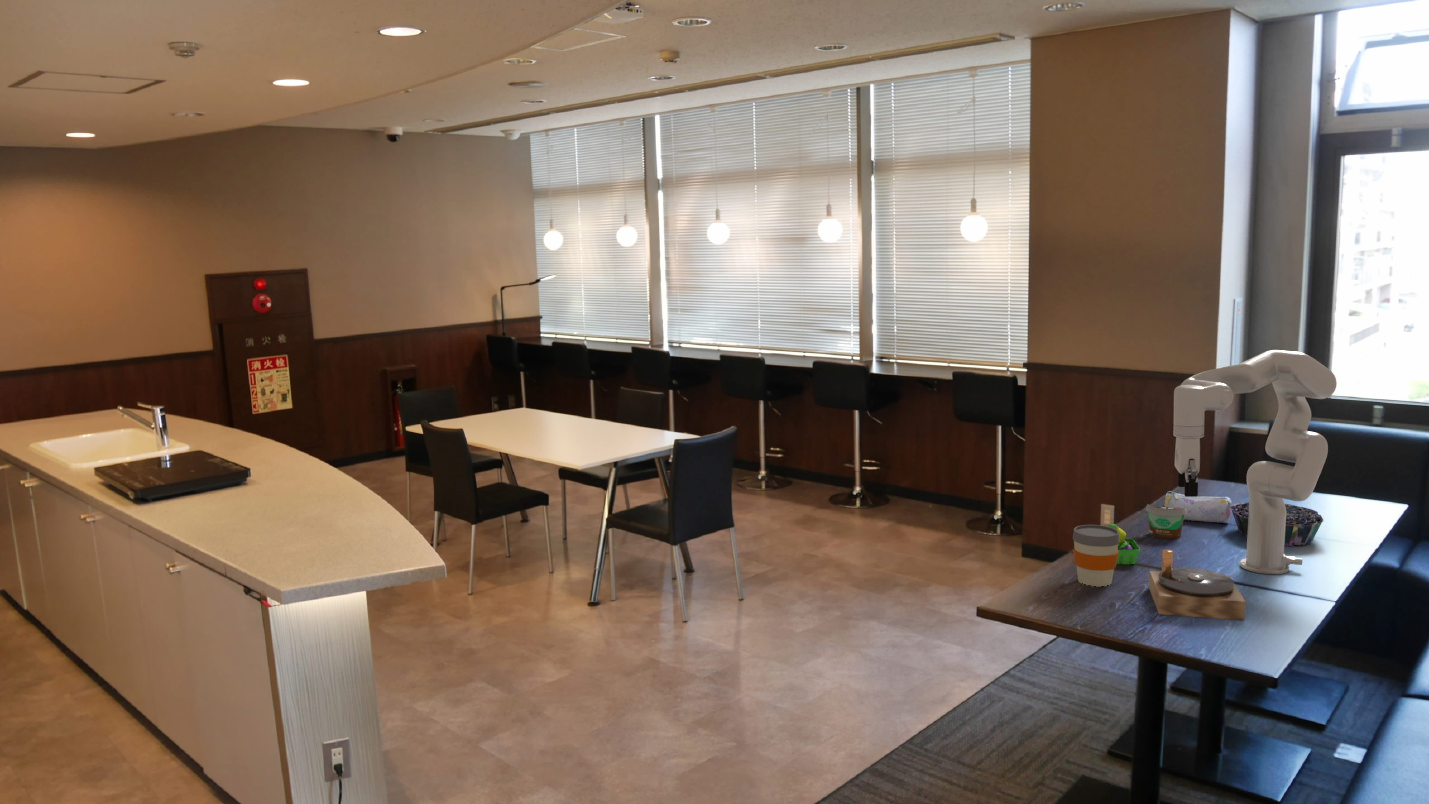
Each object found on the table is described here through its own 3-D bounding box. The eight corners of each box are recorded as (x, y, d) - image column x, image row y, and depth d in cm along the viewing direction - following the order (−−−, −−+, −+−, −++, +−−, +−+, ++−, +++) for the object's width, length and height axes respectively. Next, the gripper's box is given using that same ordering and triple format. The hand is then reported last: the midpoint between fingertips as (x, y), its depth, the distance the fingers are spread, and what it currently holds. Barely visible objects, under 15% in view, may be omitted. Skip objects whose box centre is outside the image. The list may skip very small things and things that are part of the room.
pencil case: (1161, 519, 342) (1162, 492, 341) (1166, 513, 349) (1167, 487, 348) (1228, 527, 330) (1230, 500, 329) (1232, 521, 337) (1233, 494, 336)
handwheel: (1156, 570, 274) (1157, 540, 273) (1229, 576, 268) (1230, 546, 266) (1160, 592, 257) (1161, 560, 256) (1237, 599, 251) (1239, 566, 250)
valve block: (1228, 593, 270) (1229, 575, 269) (1244, 620, 251) (1245, 601, 250) (1149, 588, 276) (1149, 571, 275) (1158, 614, 257) (1159, 595, 256)
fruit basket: (1140, 566, 294) (1141, 529, 293) (1108, 565, 296) (1110, 528, 294) (1132, 554, 305) (1133, 519, 304) (1102, 553, 307) (1103, 518, 305)
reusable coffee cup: (1113, 591, 274) (1115, 539, 272) (1066, 584, 281) (1068, 533, 278) (1122, 578, 285) (1123, 527, 282) (1076, 571, 291) (1078, 522, 289)
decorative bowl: (1299, 530, 331) (1299, 501, 330) (1341, 549, 303) (1342, 517, 302) (1218, 530, 334) (1219, 501, 333) (1253, 549, 306) (1253, 517, 305)
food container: (1145, 538, 321) (1146, 508, 320) (1144, 533, 327) (1145, 503, 325) (1187, 541, 316) (1188, 511, 315) (1185, 536, 322) (1187, 506, 321)
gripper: (1168, 424, 278) (1167, 483, 281) (1179, 437, 262) (1178, 500, 265) (1197, 424, 276) (1196, 483, 279) (1210, 437, 260) (1209, 500, 263)
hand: (1187, 491), depth 272 cm, fingers open, 9 cm apart
